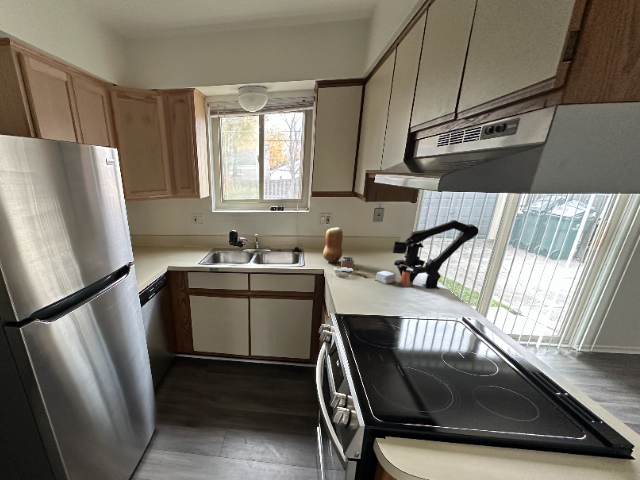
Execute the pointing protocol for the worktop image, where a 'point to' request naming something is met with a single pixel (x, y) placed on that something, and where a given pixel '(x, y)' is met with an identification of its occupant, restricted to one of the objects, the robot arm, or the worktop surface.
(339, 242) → the butternut squash
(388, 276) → the small box
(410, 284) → the cup
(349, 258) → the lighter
